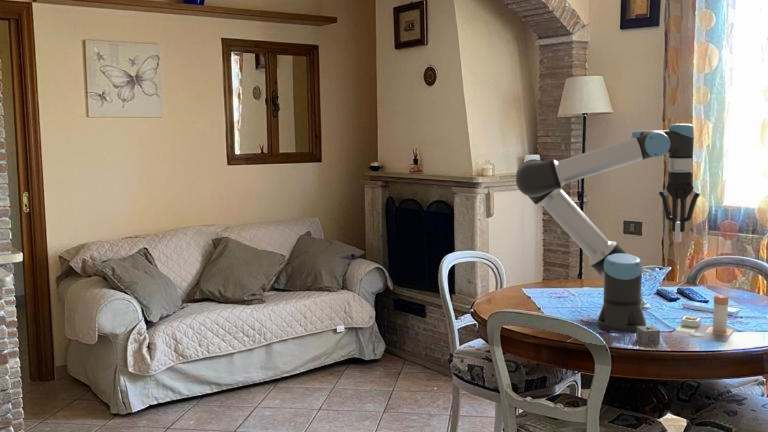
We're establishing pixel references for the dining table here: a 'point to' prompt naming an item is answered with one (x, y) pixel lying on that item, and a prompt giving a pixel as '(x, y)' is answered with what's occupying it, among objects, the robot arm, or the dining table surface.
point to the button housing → (690, 322)
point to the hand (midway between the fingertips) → (678, 241)
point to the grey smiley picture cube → (648, 335)
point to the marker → (720, 313)
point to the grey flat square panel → (704, 333)
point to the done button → (691, 318)
